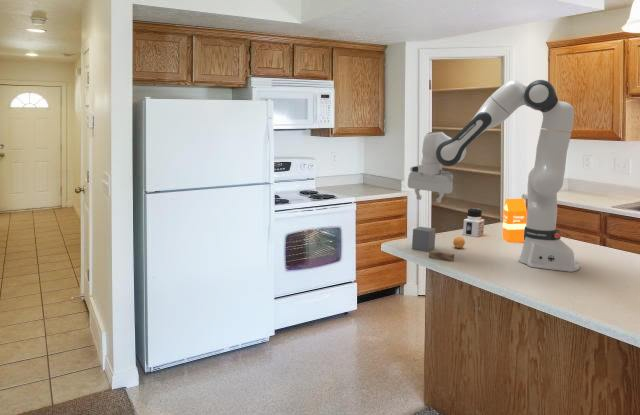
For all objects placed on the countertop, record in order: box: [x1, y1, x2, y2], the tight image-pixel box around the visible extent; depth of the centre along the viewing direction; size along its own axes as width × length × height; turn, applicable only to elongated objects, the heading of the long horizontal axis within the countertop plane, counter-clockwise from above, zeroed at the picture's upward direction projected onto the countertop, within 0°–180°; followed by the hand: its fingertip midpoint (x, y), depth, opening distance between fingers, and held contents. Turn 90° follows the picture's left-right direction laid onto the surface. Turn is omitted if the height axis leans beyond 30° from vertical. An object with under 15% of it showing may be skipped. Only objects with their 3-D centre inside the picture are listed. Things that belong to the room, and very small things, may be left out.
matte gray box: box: [411, 226, 437, 253], centre depth 232 cm, size 7×7×9 cm
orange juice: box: [502, 198, 527, 243], centre depth 250 cm, size 8×9×20 cm
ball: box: [452, 236, 466, 249], centre depth 234 cm, size 5×5×5 cm
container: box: [462, 207, 485, 238], centre depth 261 cm, size 8×8×13 cm
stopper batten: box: [428, 250, 455, 262], centre depth 216 cm, size 10×2×2 cm, turn 56°
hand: (428, 201), depth 229 cm, fingers open, 8 cm apart
